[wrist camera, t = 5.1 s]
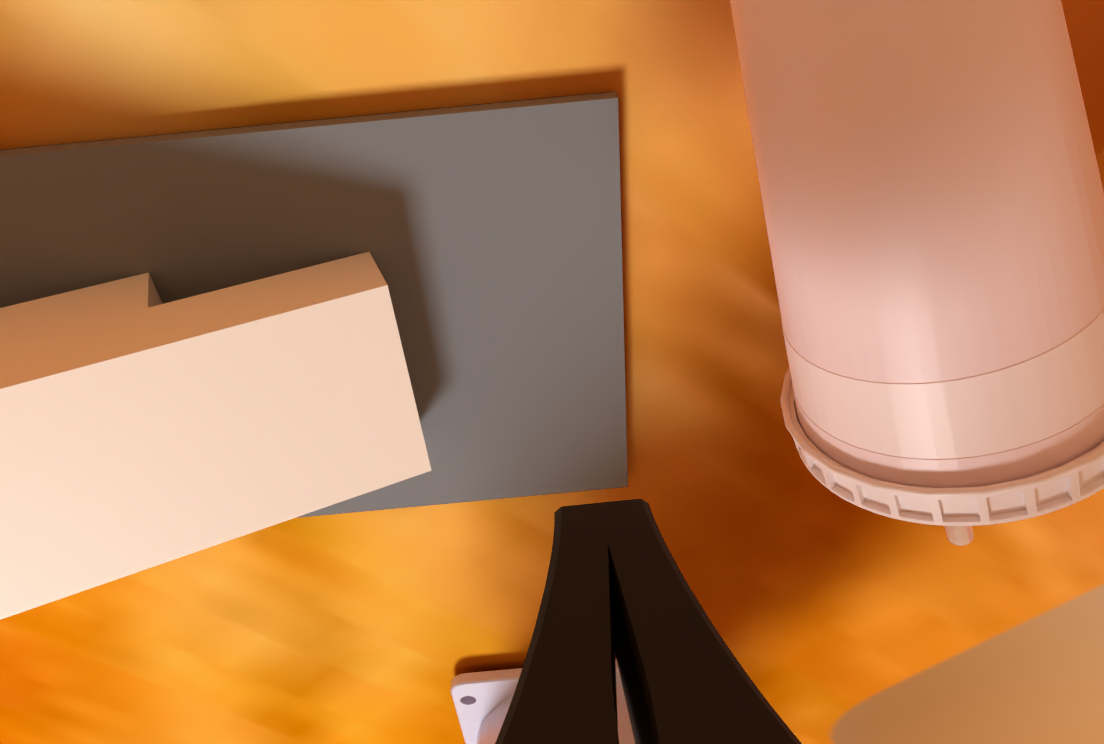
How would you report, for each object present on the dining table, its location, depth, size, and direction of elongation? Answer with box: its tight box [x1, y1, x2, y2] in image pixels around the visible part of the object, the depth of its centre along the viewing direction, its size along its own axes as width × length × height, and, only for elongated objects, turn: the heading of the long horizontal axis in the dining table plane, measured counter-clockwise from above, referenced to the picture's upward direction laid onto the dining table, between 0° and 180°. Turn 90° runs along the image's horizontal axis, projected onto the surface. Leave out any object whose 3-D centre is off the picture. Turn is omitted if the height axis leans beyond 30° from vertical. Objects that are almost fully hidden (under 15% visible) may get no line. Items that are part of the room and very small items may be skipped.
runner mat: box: [0, 92, 628, 518], centre depth 17 cm, size 10×26×1 cm, turn 95°
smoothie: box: [730, 0, 1104, 545], centre depth 13 cm, size 6×6×14 cm
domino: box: [0, 252, 432, 619], centre depth 15 cm, size 2×5×9 cm
